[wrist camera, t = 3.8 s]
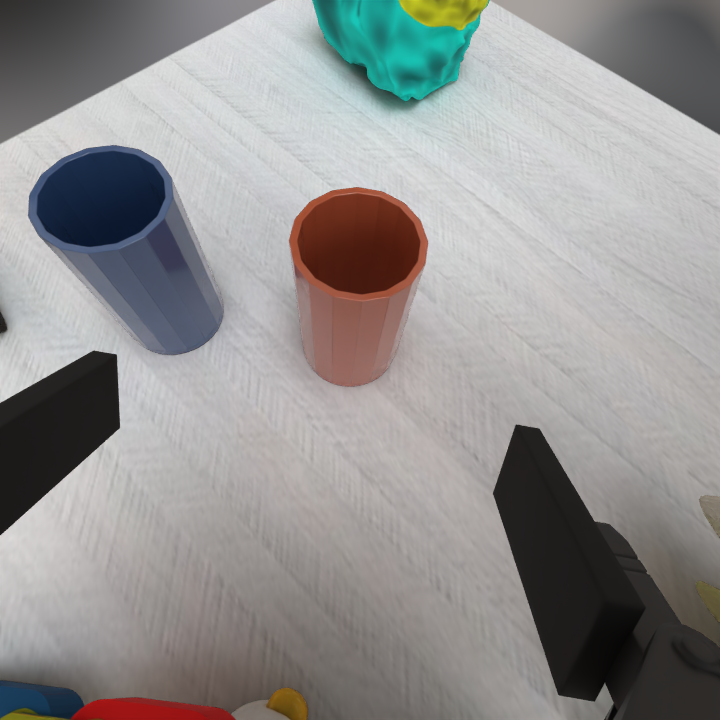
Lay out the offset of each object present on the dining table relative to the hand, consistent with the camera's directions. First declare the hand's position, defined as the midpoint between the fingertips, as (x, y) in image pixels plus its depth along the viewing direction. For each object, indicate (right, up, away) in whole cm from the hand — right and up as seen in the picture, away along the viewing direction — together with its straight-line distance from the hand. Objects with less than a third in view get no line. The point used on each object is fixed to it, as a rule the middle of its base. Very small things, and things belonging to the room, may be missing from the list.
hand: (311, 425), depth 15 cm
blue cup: (-12, +6, +19) cm, 23 cm away
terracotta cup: (+1, +3, +19) cm, 19 cm away
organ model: (+8, +32, +21) cm, 39 cm away
